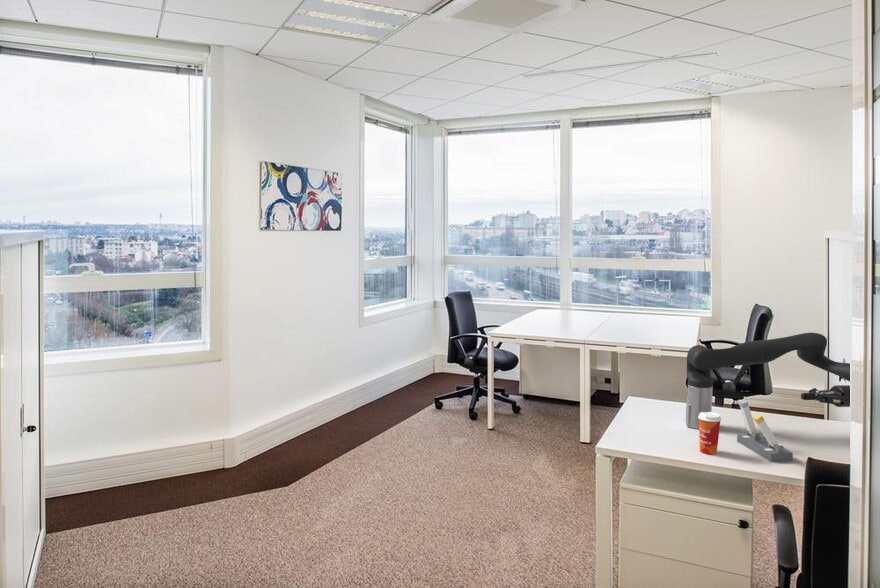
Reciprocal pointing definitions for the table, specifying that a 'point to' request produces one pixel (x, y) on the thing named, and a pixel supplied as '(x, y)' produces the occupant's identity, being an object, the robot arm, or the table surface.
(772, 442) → the toggle
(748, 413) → the toggle
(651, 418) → the table surface
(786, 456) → the toggle switch base
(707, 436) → the paper cup
